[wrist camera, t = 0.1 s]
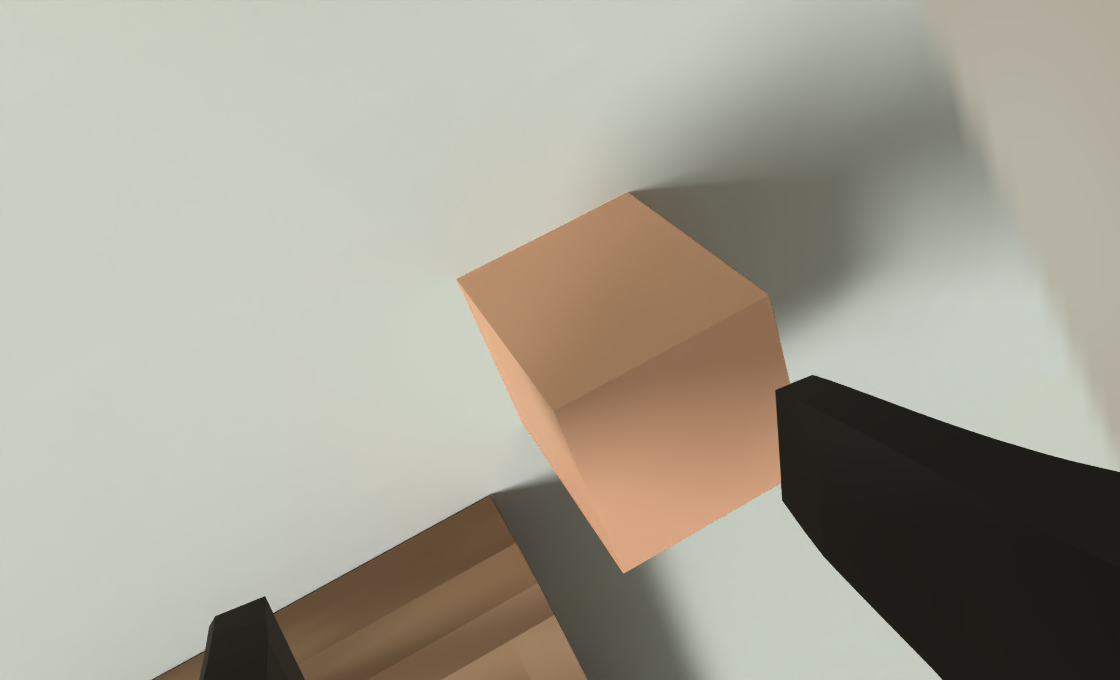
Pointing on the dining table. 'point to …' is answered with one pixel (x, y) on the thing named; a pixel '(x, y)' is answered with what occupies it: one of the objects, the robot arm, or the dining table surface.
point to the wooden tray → (429, 613)
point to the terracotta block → (637, 372)
